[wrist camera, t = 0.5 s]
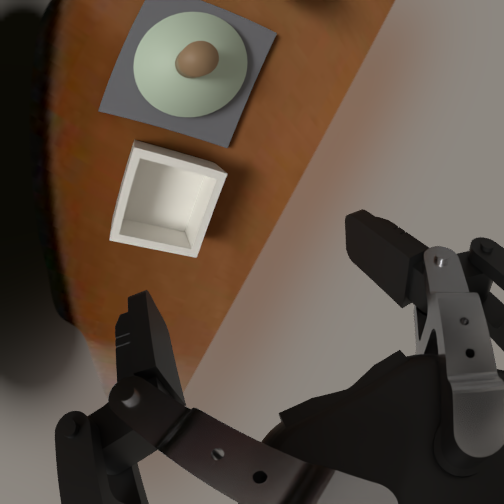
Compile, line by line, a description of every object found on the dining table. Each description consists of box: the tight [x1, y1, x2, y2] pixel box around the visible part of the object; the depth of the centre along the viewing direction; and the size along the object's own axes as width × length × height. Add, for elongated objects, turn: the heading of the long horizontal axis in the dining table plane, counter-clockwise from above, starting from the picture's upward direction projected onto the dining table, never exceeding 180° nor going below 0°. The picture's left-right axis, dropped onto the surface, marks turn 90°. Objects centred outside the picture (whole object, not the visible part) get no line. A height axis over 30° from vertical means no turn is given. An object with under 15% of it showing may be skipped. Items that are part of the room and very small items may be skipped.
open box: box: [110, 140, 227, 258], centre depth 30 cm, size 9×9×5 cm
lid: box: [133, 12, 248, 117], centre depth 24 cm, size 11×11×5 cm
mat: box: [99, 0, 277, 148], centre depth 26 cm, size 14×14×1 cm
